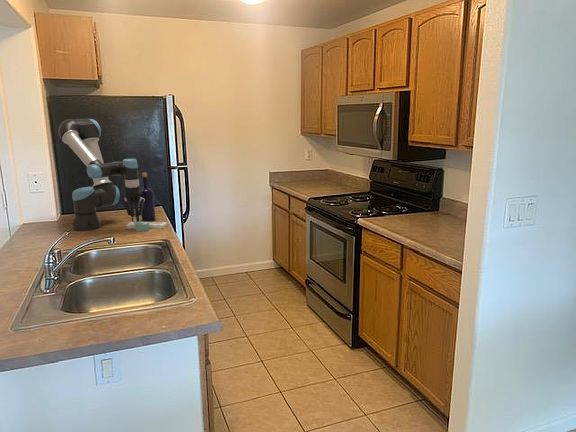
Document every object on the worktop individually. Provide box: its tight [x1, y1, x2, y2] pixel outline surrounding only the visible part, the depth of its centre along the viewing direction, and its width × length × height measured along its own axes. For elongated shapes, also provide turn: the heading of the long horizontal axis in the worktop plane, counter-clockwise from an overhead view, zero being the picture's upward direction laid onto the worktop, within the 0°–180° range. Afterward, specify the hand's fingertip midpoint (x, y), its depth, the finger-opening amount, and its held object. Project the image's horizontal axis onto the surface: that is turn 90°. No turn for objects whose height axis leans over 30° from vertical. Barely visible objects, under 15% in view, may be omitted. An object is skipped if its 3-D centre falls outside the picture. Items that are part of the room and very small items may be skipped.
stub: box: [135, 221, 151, 232], centre depth 247 cm, size 6×5×4 cm
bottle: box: [139, 172, 157, 222], centre depth 266 cm, size 9×9×30 cm
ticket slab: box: [125, 221, 169, 230], centre depth 254 cm, size 22×8×2 cm, turn 87°
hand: (136, 227), depth 247 cm, fingers closed
